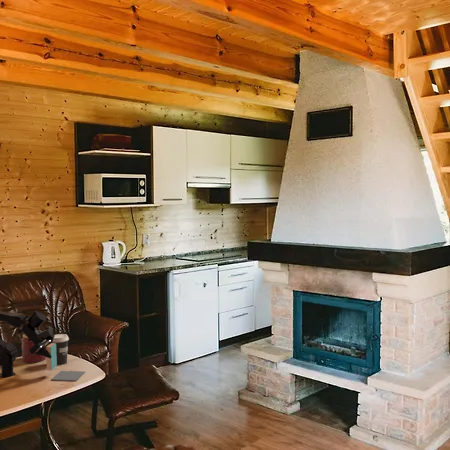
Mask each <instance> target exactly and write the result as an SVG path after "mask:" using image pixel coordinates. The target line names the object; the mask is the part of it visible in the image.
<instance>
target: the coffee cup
mask: <svg viewBox="0 0 450 450" xmlns="http://www.w3.org/2000/svg"><path fill="white" fill-rule="evenodd" d="M53 335H54V336H55V337H54V340H53V343H56V350H57V354H56V355H57V366H62V365H65V364H67V363H68V351H69V350H68V349H69V348H68V347H69V340H70V337H69V336H68V334H66V333H65V334H64V333H59V334H53Z"/></svg>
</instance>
